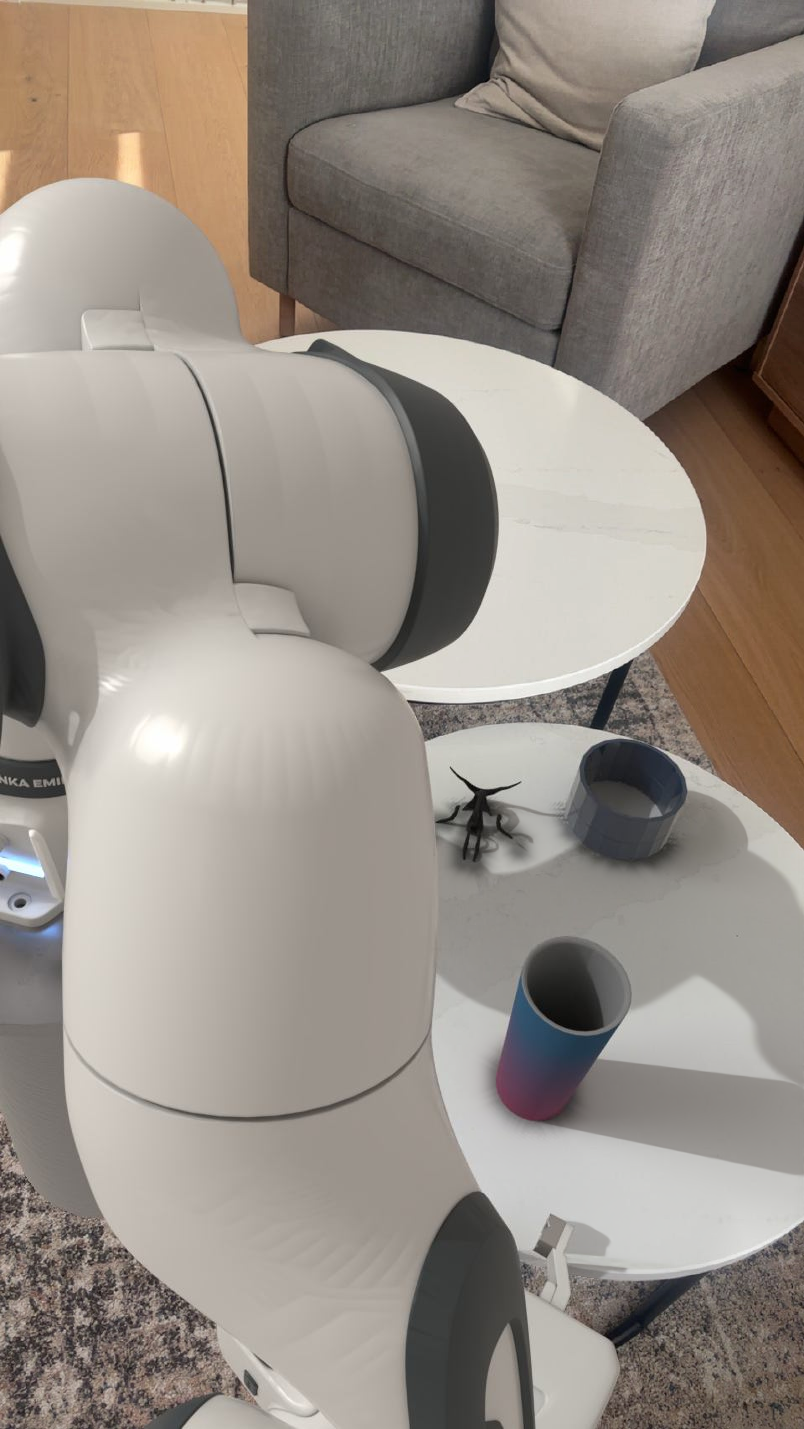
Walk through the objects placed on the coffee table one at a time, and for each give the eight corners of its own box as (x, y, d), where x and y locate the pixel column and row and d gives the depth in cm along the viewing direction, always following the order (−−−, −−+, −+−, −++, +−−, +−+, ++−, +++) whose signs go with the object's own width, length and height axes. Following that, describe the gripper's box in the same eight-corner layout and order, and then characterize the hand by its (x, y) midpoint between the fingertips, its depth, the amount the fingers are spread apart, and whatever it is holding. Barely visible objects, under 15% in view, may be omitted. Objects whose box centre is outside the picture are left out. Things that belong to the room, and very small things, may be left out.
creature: (510, 888, 91) (523, 804, 95) (521, 862, 86) (534, 775, 90) (418, 868, 91) (435, 786, 95) (424, 841, 86) (441, 756, 90)
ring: (566, 863, 92) (583, 815, 87) (559, 782, 98) (576, 733, 93) (671, 874, 92) (694, 826, 87) (657, 792, 98) (679, 744, 94)
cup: (553, 1159, 74) (607, 1056, 63) (464, 1107, 76) (502, 998, 65) (590, 1078, 78) (647, 969, 68) (506, 1031, 80) (548, 917, 69)
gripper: (575, 1547, 48) (672, 1258, 57) (192, 1293, 53) (336, 1066, 62) (546, 1566, 52) (640, 1296, 61) (195, 1331, 58) (329, 1113, 67)
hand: (484, 1178), depth 62 cm, fingers open, 8 cm apart
